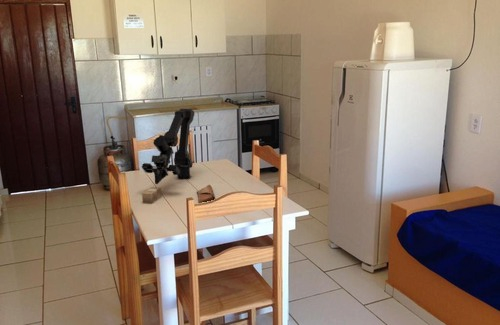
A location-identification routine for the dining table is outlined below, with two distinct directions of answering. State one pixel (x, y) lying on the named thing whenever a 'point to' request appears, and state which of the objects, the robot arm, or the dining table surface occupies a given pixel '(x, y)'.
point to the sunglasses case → (205, 194)
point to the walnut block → (151, 195)
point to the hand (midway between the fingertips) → (156, 183)
